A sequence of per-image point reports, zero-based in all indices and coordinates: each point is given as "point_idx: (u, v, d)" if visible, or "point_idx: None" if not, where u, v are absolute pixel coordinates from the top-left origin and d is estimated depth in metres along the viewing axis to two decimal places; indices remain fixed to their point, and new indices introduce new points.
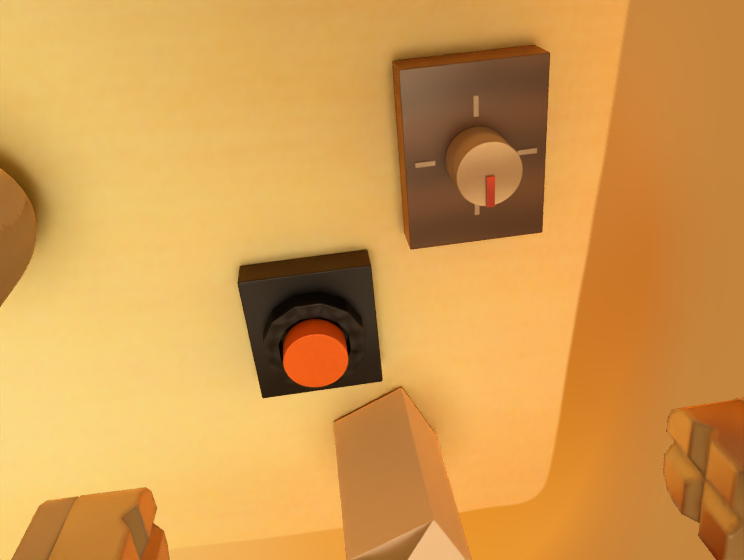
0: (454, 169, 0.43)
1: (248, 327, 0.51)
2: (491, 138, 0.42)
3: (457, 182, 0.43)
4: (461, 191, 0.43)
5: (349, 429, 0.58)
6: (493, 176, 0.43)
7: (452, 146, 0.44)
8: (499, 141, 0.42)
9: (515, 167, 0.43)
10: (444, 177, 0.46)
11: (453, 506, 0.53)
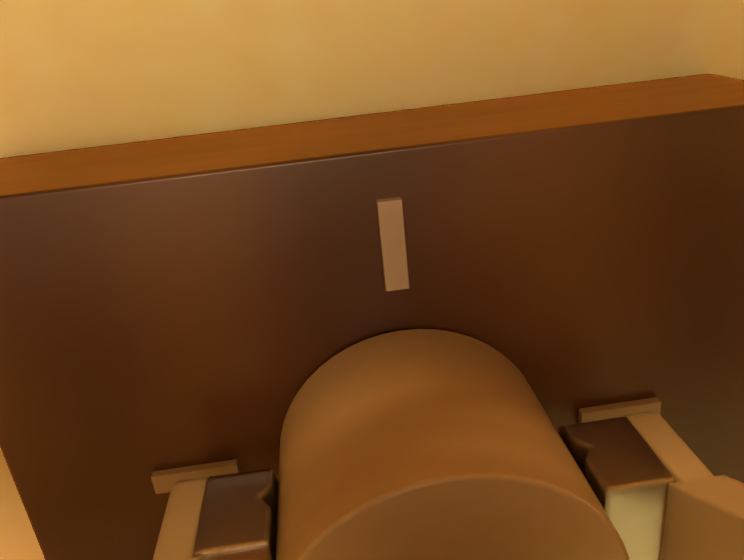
0: (467, 436, 0.08)
1: None
2: None
3: (421, 485, 0.07)
4: (365, 514, 0.07)
5: None
6: None
7: (494, 365, 0.10)
8: None
9: None
10: (322, 334, 0.10)
11: None
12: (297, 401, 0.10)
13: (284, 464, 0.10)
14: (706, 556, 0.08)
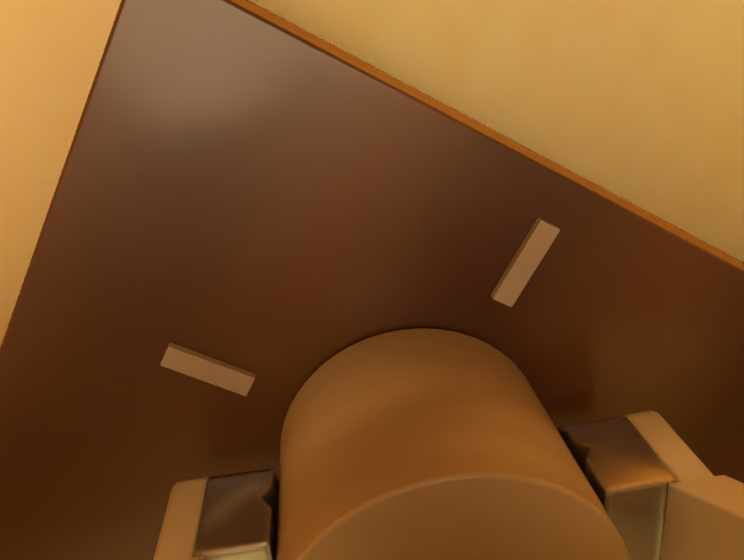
0: (470, 435, 0.08)
1: None
2: None
3: (425, 483, 0.07)
4: (368, 511, 0.07)
5: None
6: None
7: (496, 365, 0.10)
8: None
9: None
10: (412, 304, 0.10)
11: None
12: (299, 399, 0.10)
13: (285, 462, 0.09)
14: (706, 556, 0.08)
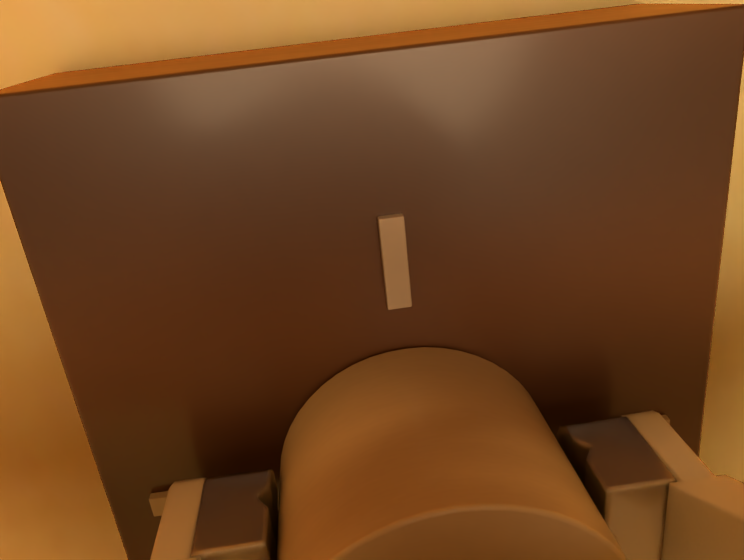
0: (475, 463, 0.07)
1: None
2: None
3: (429, 515, 0.07)
4: (370, 544, 0.07)
5: None
6: None
7: (501, 386, 0.10)
8: None
9: None
10: (548, 379, 0.11)
11: None
12: (299, 420, 0.10)
13: (285, 486, 0.09)
14: (706, 556, 0.08)
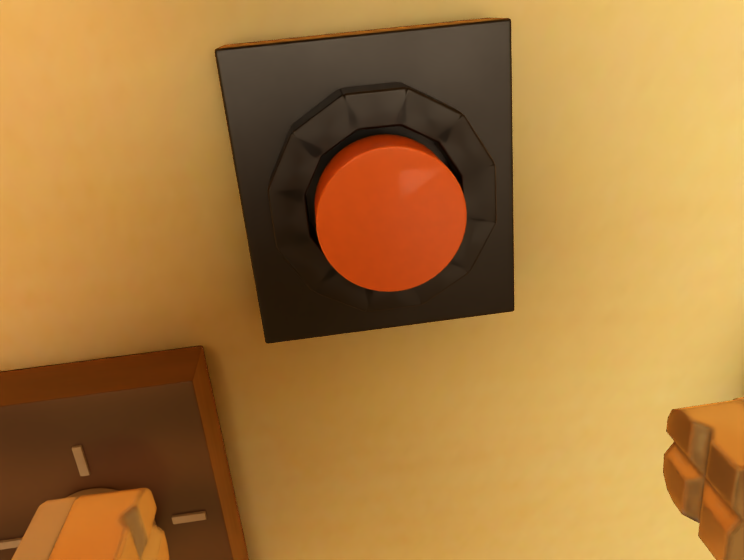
0: None
1: (511, 217, 0.25)
2: None
3: None
4: None
5: None
6: None
7: None
8: None
9: None
10: None
11: None
12: None
13: None
14: None
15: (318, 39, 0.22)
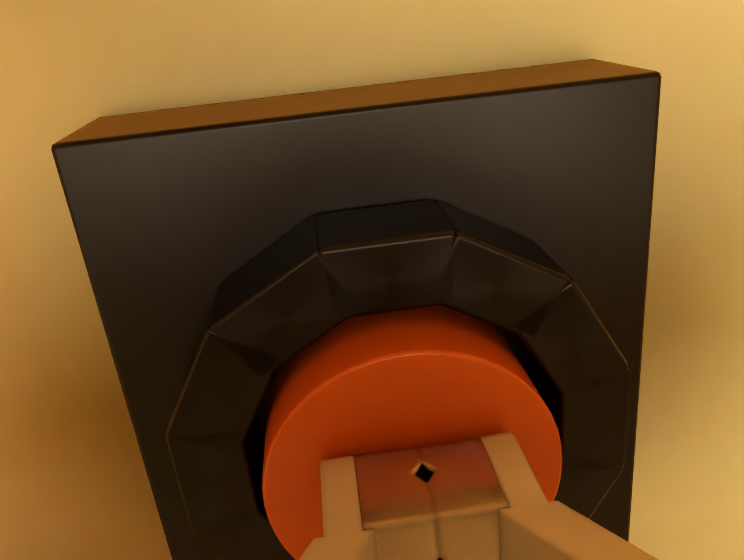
0: None
1: (633, 423, 0.14)
2: None
3: None
4: None
5: None
6: None
7: None
8: None
9: None
10: None
11: None
12: None
13: None
14: None
15: (268, 120, 0.11)
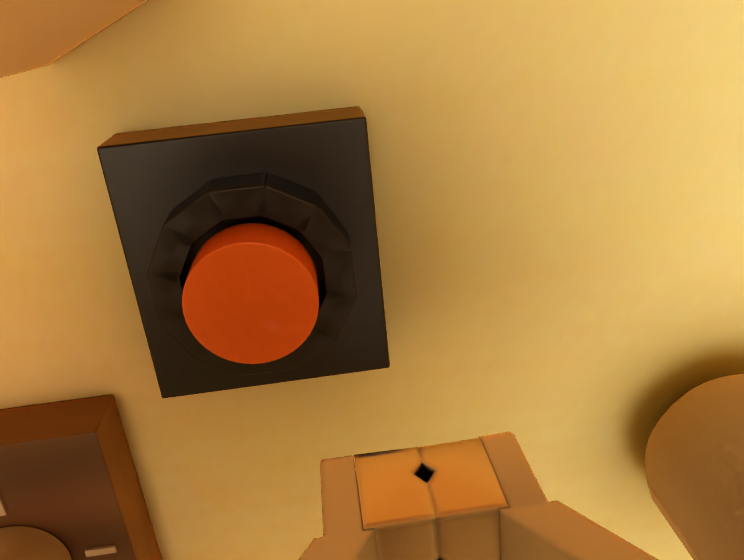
0: None
1: (379, 286, 0.28)
2: None
3: None
4: None
5: None
6: None
7: (34, 542, 0.29)
8: None
9: None
10: (65, 534, 0.30)
11: None
12: None
13: None
14: None
15: (190, 137, 0.24)
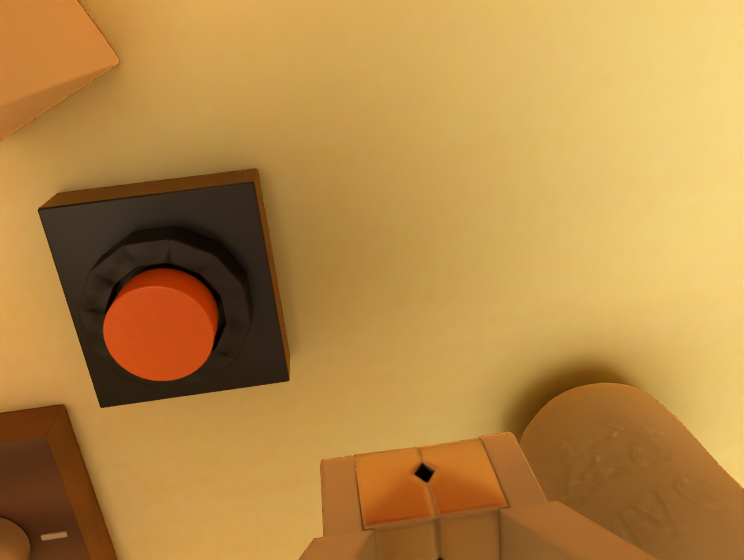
0: None
1: (275, 315, 0.34)
2: None
3: None
4: None
5: (80, 85, 0.29)
6: None
7: None
8: None
9: None
10: (24, 521, 0.37)
11: None
12: None
13: None
14: None
15: (112, 200, 0.31)
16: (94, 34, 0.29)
